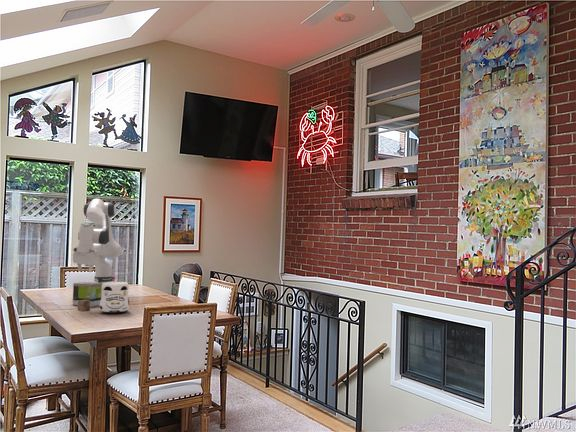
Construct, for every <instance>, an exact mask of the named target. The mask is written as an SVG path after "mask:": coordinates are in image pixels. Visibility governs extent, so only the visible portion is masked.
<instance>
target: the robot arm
mask: <svg viewBox="0 0 576 432" xmlns="http://www.w3.org/2000/svg"><path fill="white" fill-rule="evenodd" d="M82 211H83V215H84V216H85V217H86V219H87V220H88V221H89V222H88V223H87V222H86V223H81V224H80V225H79V231H78V236H77V237H78V238H77V240H79V241H78V244H77V245H78V246H75V247H73V249H72V251H73V254H72V262H73V263H74V264H76V265H77V270H78V272H82V271H83V268H82V265H85V266H86V265H88V266H89V268H88V269H87V273H92V271H93V269H95V276H94V278H93V279H94V282H95V283H102V284H103V283H105V282H115V281H114V280H116V279H117V277H116V276H113V275H112V265H111V264H110V263H109V262H107V260H106V259H110V258H111V259H113V258H119V257H120V256H121V254H122V253H123V252H122V251H123V249H122V246H121V245H120V243H119V242H117V241H116V240H115V238H114V237H113V233H112V232H113V231H112V222H111V218H112V217H114V216H116V213H117V206H116V204H115V203H114V202H104V201H103V199H100V198H93V199H92V200H91V201H90V202H87V203H85V204H84V205H83V208H82ZM90 222H91V223H90ZM105 258H106V259H105ZM101 297H102V286H101Z"/></svg>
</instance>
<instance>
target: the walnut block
mask: <svg viewBox="0 0 576 432" xmlns="http://www.w3.org/2000/svg"><path fill="white" fill-rule="evenodd" d="M90 308H91V307H90V300H78V305H77V311H80V312H85V311H90Z"/></svg>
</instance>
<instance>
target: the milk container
mask: <svg viewBox="0 0 576 432" xmlns="http://www.w3.org/2000/svg"><path fill="white" fill-rule="evenodd" d="M129 308H130V299H129V282H127V281H114V282H105V283H103V284H102V297H101V301H100V305H99V310H100V312H102V313H104V314H112V315H113V314H121V313H125V312H127V311H128V310H130V309H129Z"/></svg>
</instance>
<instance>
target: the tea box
mask: <svg viewBox="0 0 576 432" xmlns="http://www.w3.org/2000/svg"><path fill="white" fill-rule="evenodd" d="M72 285H73V286H72V287H73V289H72V306H78V300H90V308H92V307H97V306H100V301H101V286H102V283H95V281H94V282H93V281H91V282H90V281H79V282H73V284H72Z"/></svg>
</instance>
